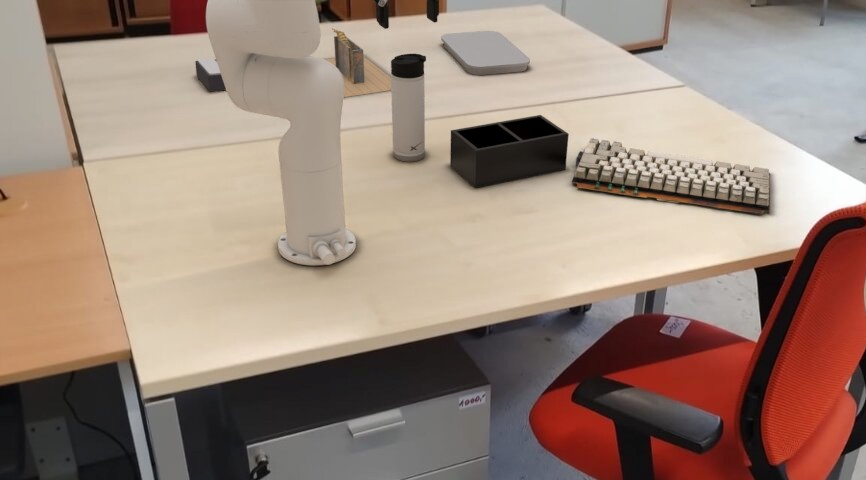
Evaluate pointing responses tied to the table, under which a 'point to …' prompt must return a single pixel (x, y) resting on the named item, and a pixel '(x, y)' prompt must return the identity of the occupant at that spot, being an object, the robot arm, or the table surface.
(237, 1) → the robot arm
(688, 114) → the table surface
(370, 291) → the table surface
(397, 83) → the travel mug
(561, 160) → the caddy
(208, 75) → the calculator
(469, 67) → the grey flat block
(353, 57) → the architectural model on board
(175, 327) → the table surface
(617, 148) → the mechanical keyboard
